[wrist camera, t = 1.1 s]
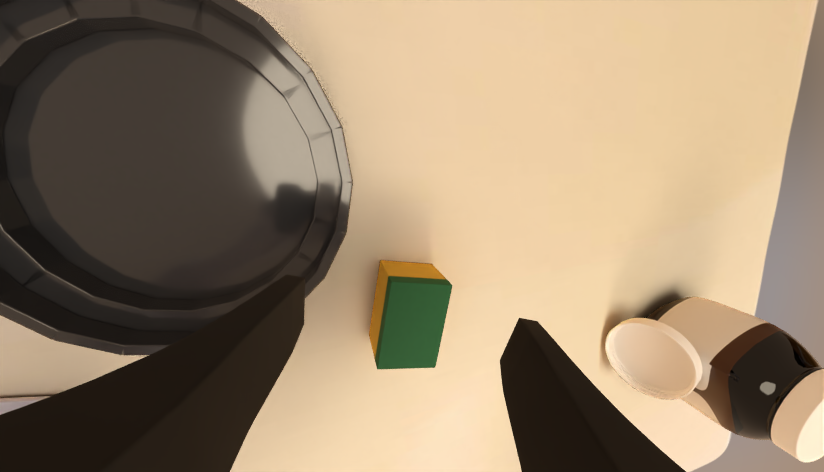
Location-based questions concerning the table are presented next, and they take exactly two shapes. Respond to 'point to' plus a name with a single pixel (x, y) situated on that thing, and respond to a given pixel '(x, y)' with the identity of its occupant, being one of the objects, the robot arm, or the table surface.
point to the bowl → (158, 168)
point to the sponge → (408, 315)
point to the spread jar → (726, 371)
